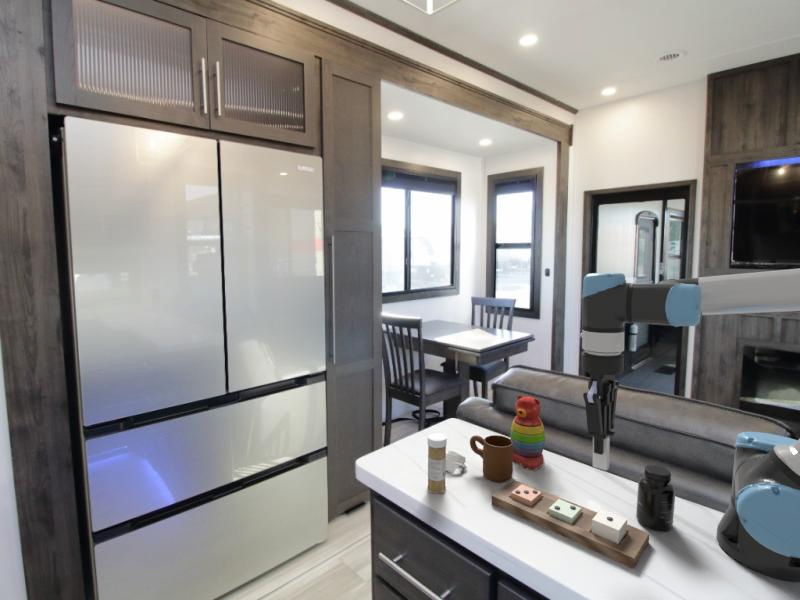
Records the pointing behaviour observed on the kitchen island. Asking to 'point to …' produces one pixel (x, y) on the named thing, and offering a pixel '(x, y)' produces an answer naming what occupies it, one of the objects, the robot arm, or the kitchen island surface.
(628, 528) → the button board
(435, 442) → the sprinkles bottle
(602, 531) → the one-pip button
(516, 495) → the three-pip button
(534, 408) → the stacking bear
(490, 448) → the mug
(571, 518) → the two-pip button
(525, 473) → the kitchen island surface
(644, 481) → the supplement bottle
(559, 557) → the kitchen island surface
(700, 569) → the kitchen island surface
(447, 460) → the crumpled white paper
